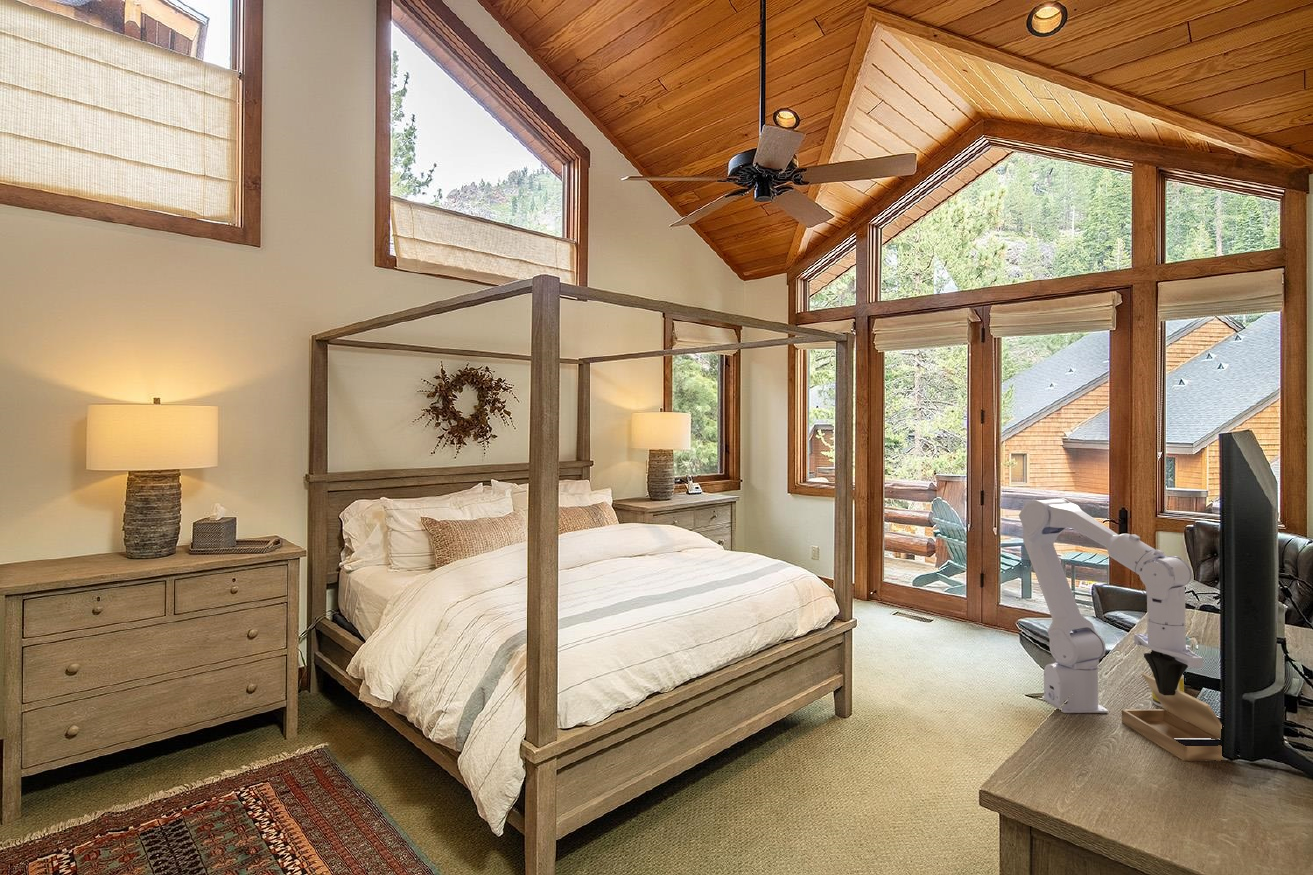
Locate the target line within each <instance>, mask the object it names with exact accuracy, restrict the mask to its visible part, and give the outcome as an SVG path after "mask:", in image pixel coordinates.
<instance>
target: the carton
mask: <svg viewBox="0 0 1313 875" xmlns="http://www.w3.org/2000/svg"><path fill="white" fill-rule="evenodd" d="M1121 723H1123V725H1126V726H1127V727H1129V728H1130V729H1132V730H1134V731H1135V732H1137V733H1139V735H1142V736H1143V737H1145V738H1146V739H1148V740H1150V741H1151V742H1153V743H1155V744H1156V745H1157V746H1159V747H1161V748H1162V749H1164V750H1165V751H1166V752H1169V753H1170V754H1172V755H1173V756H1175V757H1176V758H1179V759H1180V760H1182V761H1183V762H1206V761H1205V760H1208V761H1207V762H1211V761H1210V760H1216V761H1215V762H1222V761H1221V760H1224V758H1223V756H1222V746H1221V745H1218V746H1185V745H1183V744H1181V743H1179V742H1178V741H1176V740H1174V738H1211V739H1215V740H1219V738H1217V737H1215V736H1213V735H1211V734H1209V733H1208V732H1206V731H1204V730H1202V729H1200V728H1198V727H1197V726H1195V725H1193V724H1191V723H1189V722H1187V721H1186V720H1184V719H1182V718H1180V717H1178V716H1176V715H1175V714H1173V713H1171V712H1169V711H1167V710H1165V709H1164V708H1163V709H1159V708H1157V709H1155V708H1153V709H1152V708H1151V709H1149V708H1148V709H1143V708H1142V709H1139V708H1138V709H1137V708H1136V709H1121Z"/></svg>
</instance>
